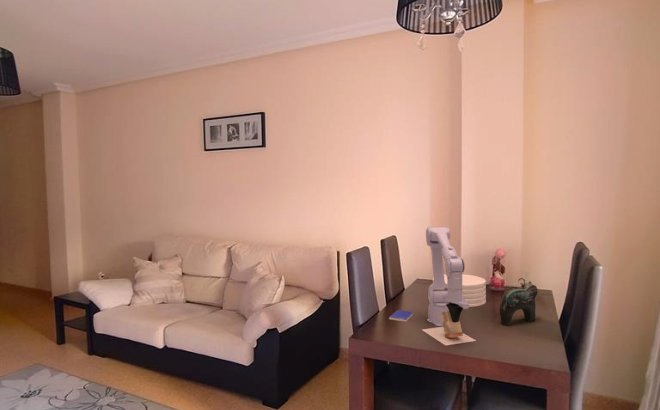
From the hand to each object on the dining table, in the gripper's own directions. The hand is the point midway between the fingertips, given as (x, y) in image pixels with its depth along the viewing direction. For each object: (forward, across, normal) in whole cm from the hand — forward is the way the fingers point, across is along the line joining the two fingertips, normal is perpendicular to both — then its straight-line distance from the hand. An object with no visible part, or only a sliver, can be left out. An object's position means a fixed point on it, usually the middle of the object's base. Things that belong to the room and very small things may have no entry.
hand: (455, 321), depth 151 cm
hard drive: (+9, +35, +6) cm, 36 cm away
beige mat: (+8, +5, 0) cm, 10 cm away
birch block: (+6, +1, 0) cm, 7 cm away
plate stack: (+8, +50, -37) cm, 63 cm away
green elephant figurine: (+8, +9, -40) cm, 42 cm away
